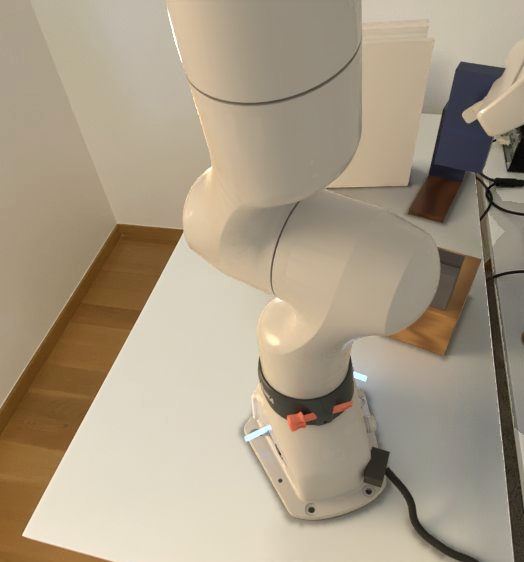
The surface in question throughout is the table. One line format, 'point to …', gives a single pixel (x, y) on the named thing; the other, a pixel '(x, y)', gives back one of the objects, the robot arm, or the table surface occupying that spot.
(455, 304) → the oak shelf
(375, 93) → the block
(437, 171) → the book rack
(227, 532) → the table surface
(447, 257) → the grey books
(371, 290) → the robot arm
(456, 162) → the navy book
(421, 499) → the table surface
